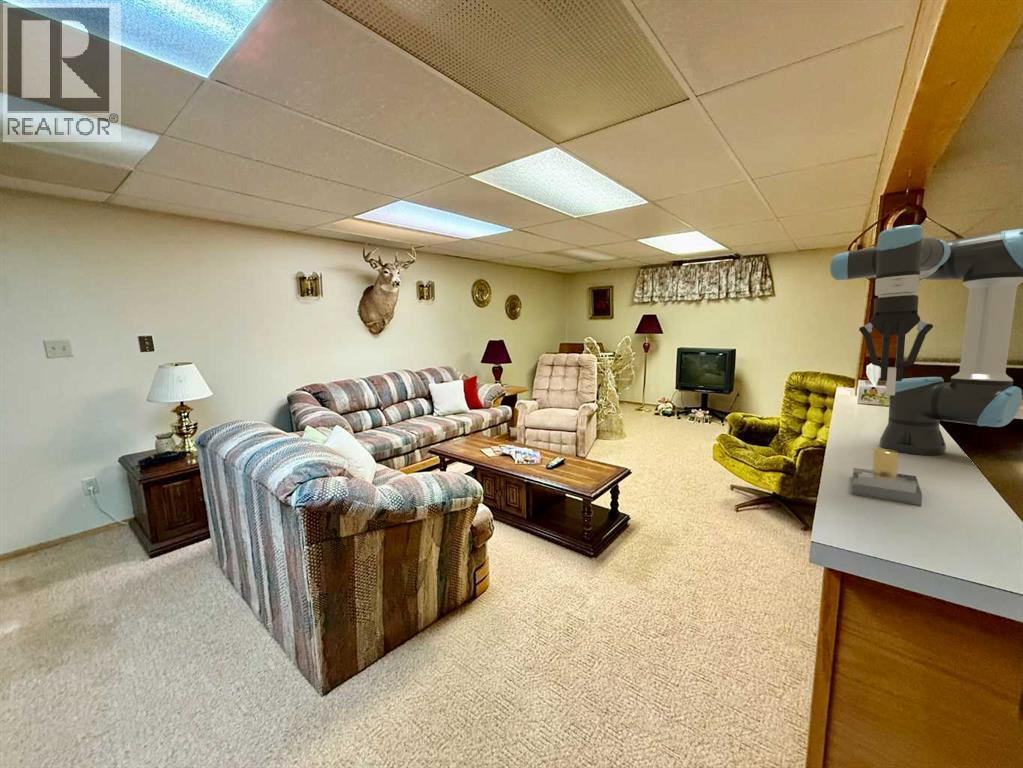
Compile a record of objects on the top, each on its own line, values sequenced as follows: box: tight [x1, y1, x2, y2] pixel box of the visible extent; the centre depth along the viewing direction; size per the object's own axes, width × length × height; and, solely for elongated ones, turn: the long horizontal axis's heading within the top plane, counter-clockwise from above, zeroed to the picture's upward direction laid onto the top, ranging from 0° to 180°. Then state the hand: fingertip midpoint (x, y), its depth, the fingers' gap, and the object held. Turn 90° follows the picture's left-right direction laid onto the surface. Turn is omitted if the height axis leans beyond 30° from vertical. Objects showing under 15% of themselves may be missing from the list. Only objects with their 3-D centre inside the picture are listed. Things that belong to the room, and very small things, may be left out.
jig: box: [851, 467, 923, 506], centre depth 100 cm, size 14×12×5 cm
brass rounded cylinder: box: [872, 448, 899, 479], centre depth 99 cm, size 4×4×10 cm
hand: (890, 394), depth 97 cm, fingers closed
